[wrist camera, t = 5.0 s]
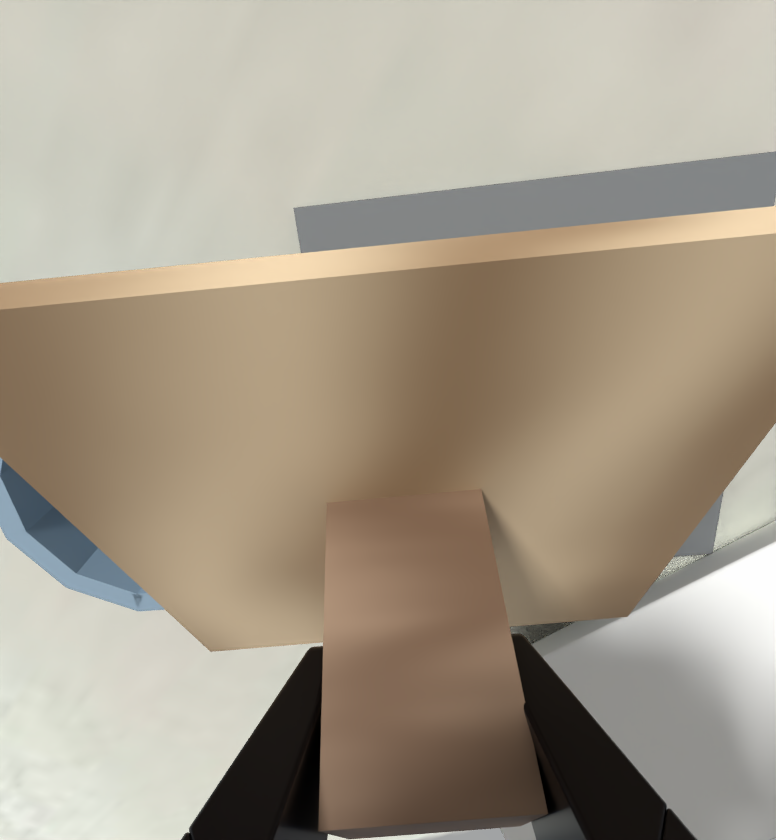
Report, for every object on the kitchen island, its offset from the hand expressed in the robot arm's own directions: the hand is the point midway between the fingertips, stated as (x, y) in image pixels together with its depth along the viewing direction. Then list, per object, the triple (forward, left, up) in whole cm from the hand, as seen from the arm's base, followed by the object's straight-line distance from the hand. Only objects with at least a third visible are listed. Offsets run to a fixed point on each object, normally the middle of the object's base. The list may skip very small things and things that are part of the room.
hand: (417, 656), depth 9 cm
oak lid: (0, -1, -3) cm, 3 cm away
